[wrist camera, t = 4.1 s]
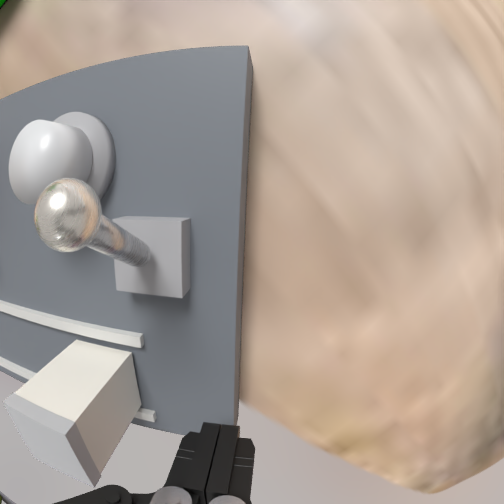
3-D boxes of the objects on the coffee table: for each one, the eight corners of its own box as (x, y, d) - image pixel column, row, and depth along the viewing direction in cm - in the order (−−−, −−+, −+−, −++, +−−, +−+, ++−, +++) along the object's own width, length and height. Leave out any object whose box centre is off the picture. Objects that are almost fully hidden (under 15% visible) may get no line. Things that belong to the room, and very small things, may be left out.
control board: (253, 66, 13) (244, 26, 8) (238, 415, 17) (229, 463, 13) (-38, 132, 14) (-70, 131, 10) (-18, 340, 19) (-44, 357, 15)
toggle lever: (167, 235, 11) (85, 161, 5) (161, 282, 11) (65, 244, 5) (126, 233, 11) (32, 168, 5) (119, 277, 11) (13, 240, 5)
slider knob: (132, 351, 13) (65, 434, 7) (142, 405, 14) (94, 487, 8) (75, 338, 14) (2, 401, 7) (89, 390, 14) (33, 457, 8)
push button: (95, 121, 10) (64, 112, 8) (91, 199, 11) (59, 203, 9) (42, 132, 11) (11, 127, 8) (39, 201, 11) (8, 205, 9)
